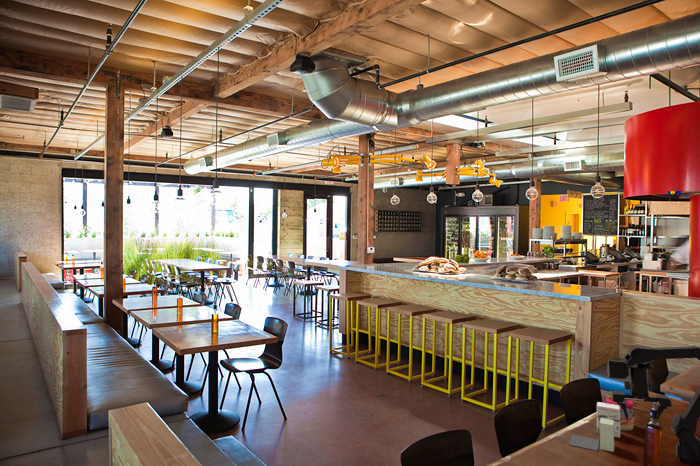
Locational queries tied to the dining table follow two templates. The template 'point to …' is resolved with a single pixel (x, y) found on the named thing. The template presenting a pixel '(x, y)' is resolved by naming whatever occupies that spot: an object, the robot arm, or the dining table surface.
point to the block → (607, 434)
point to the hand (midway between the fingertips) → (641, 421)
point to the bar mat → (584, 442)
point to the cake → (623, 422)
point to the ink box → (609, 416)
